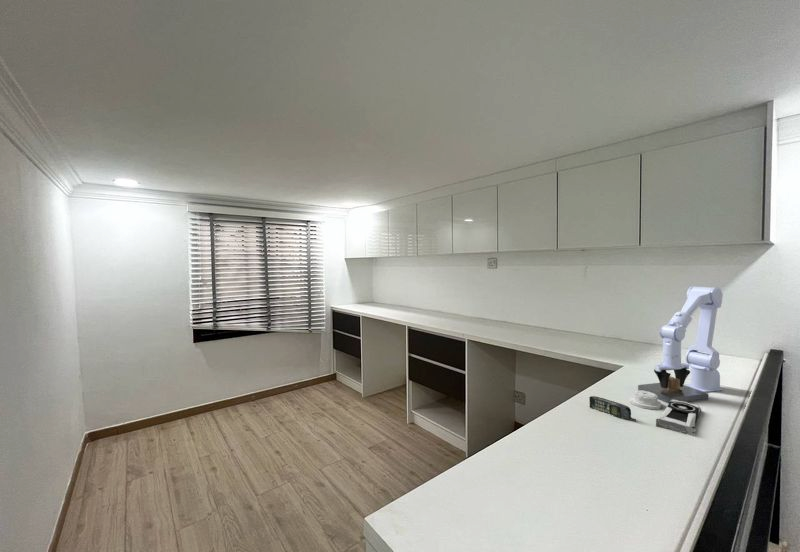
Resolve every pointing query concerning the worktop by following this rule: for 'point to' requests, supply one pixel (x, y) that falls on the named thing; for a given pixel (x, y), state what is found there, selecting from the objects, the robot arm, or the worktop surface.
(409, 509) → the worktop surface
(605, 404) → the mobile phone
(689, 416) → the graphics card
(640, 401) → the mechanical component
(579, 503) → the worktop surface
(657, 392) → the hole plate
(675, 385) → the walnut peg
